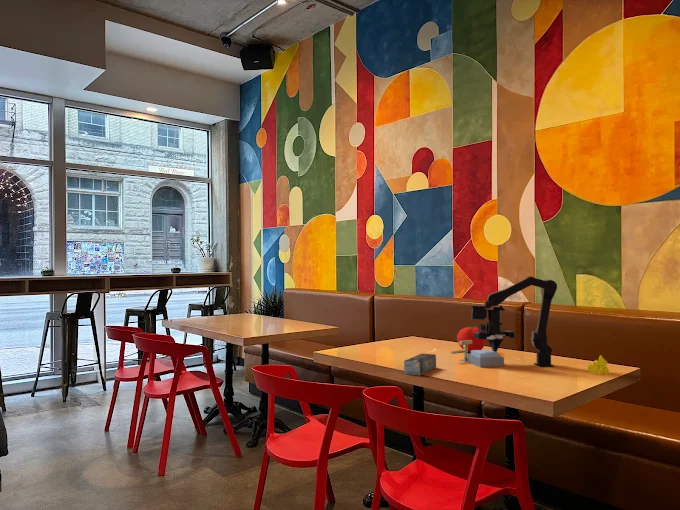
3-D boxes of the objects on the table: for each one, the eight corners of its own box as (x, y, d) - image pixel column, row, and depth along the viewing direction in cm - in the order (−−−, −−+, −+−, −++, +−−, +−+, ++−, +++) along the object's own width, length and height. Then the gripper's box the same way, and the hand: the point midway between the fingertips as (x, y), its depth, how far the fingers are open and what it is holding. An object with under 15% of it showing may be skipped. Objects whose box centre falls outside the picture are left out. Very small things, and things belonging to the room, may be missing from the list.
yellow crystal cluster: (589, 370, 228) (589, 352, 228) (610, 372, 223) (609, 354, 223) (586, 372, 223) (586, 354, 223) (607, 374, 218) (606, 356, 218)
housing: (504, 365, 238) (503, 357, 238) (477, 367, 234) (477, 358, 234) (484, 358, 255) (483, 350, 255) (459, 359, 252) (459, 351, 252)
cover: (498, 357, 238) (498, 352, 238) (480, 358, 235) (480, 353, 235) (488, 353, 246) (488, 349, 246) (470, 354, 244) (470, 350, 244)
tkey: (452, 362, 245) (452, 342, 245) (449, 361, 246) (449, 342, 247) (472, 359, 251) (472, 340, 251) (469, 358, 253) (469, 339, 253)
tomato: (490, 351, 274) (490, 326, 274) (475, 355, 265) (474, 328, 265) (466, 348, 286) (465, 323, 286) (450, 351, 277) (450, 325, 277)
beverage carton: (403, 374, 223) (402, 358, 223) (420, 366, 239) (420, 352, 239) (420, 376, 218) (420, 360, 219) (437, 368, 235) (436, 353, 235)
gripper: (503, 317, 252) (503, 349, 252) (467, 318, 248) (468, 351, 248) (515, 320, 241) (516, 353, 241) (479, 321, 237) (479, 355, 237)
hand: (494, 353), depth 242 cm, fingers closed
